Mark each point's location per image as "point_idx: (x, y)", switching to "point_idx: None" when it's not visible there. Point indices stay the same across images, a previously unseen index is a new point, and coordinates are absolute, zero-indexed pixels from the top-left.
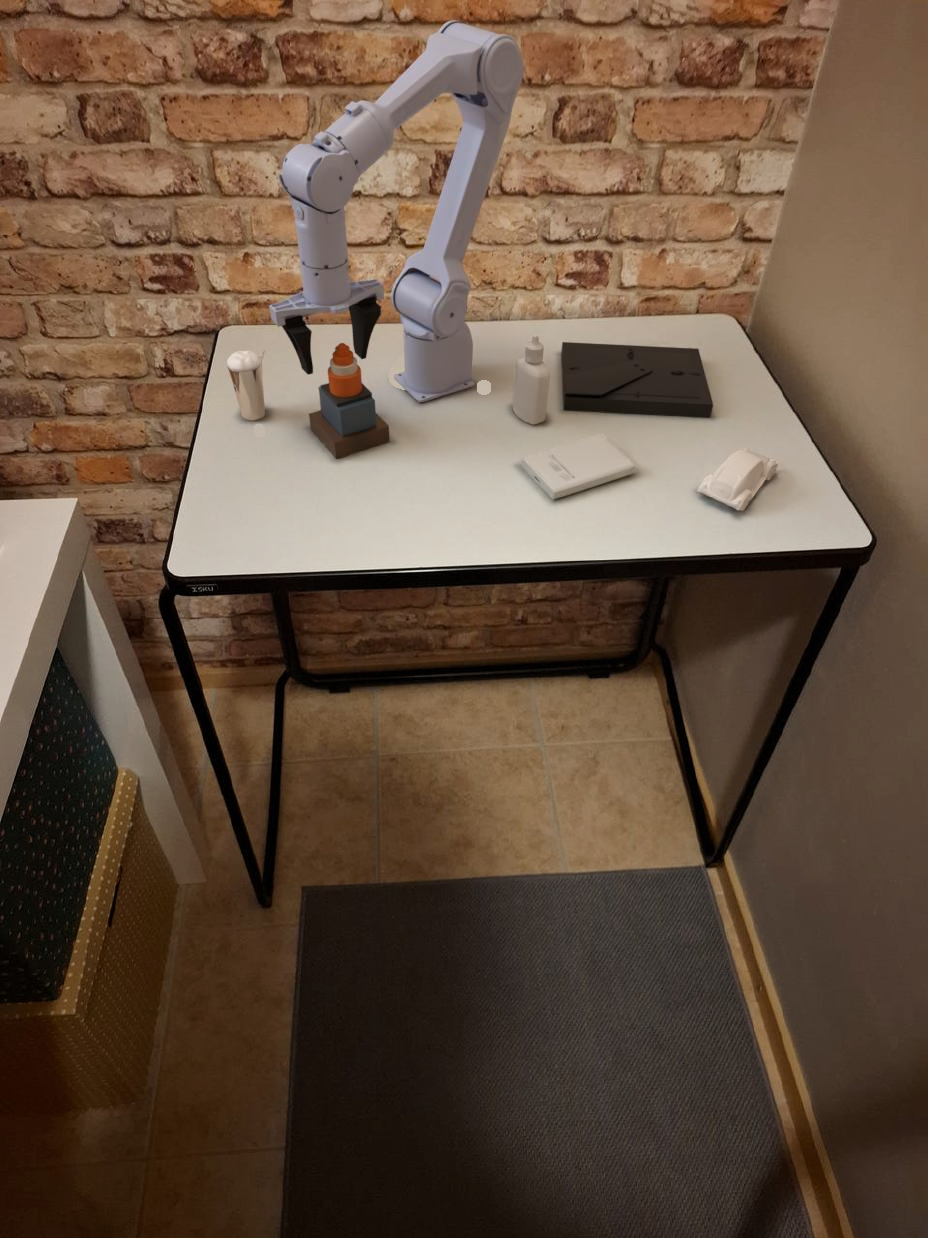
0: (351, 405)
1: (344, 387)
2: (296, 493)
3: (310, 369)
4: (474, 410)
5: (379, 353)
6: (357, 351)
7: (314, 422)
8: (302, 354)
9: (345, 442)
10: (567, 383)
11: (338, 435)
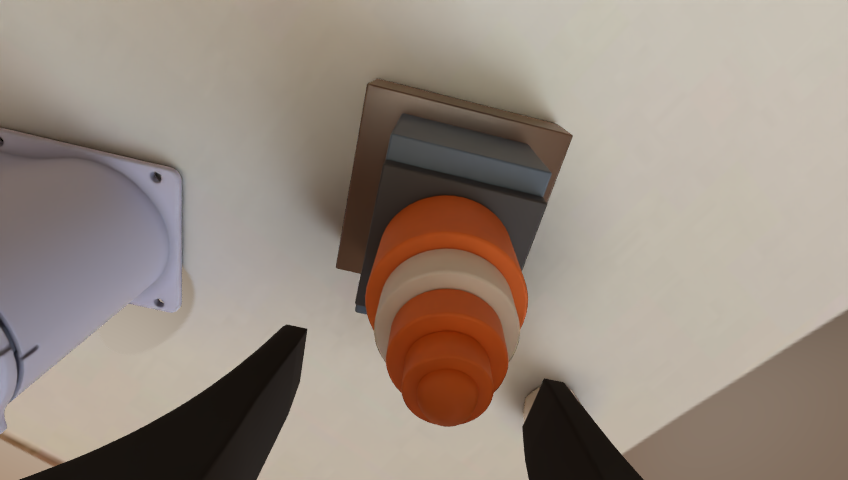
0: (493, 168)
1: (497, 231)
2: (767, 69)
3: (565, 394)
4: (37, 13)
5: (155, 402)
6: (297, 373)
7: None
8: (638, 475)
9: (533, 123)
10: None
11: None
